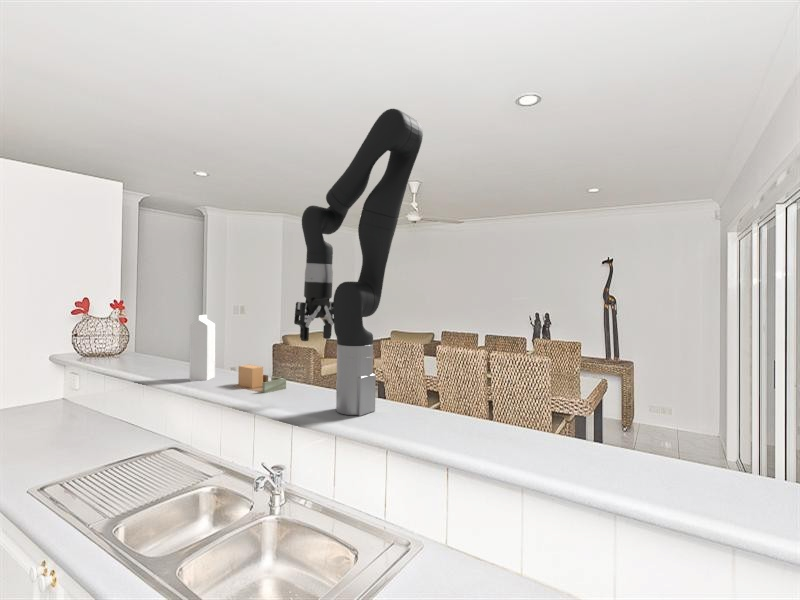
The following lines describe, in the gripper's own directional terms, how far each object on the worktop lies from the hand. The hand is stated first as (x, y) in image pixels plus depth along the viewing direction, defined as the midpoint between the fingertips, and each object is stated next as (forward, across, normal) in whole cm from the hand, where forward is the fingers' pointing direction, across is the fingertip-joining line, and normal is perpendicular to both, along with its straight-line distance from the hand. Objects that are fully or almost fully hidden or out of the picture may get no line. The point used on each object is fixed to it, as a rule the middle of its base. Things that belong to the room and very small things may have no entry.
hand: (316, 339), depth 123 cm
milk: (+20, -1, +51) cm, 55 cm away
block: (+18, +2, +29) cm, 34 cm away
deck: (+18, +2, +25) cm, 31 cm away
